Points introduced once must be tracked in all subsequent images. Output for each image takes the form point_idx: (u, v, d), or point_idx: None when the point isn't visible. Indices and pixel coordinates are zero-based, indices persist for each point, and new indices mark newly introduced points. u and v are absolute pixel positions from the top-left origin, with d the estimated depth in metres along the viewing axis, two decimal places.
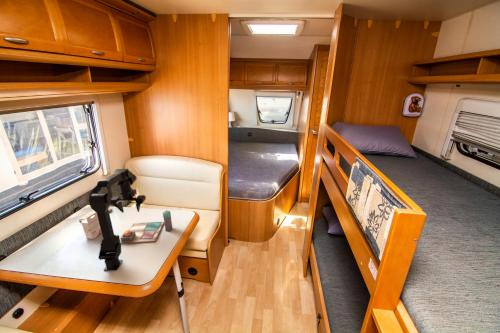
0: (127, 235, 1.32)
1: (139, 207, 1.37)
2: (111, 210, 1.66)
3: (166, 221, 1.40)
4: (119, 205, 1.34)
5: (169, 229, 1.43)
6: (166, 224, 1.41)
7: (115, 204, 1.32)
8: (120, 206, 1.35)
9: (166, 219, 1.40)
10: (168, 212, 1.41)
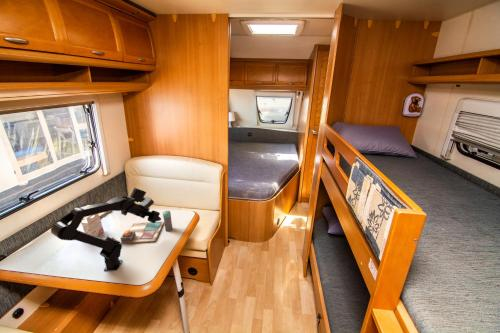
0: (127, 235, 1.32)
1: (158, 218, 1.29)
2: None
3: (166, 221, 1.40)
4: None
5: (169, 229, 1.43)
6: (166, 224, 1.41)
7: None
8: None
9: (166, 219, 1.40)
10: (168, 212, 1.41)
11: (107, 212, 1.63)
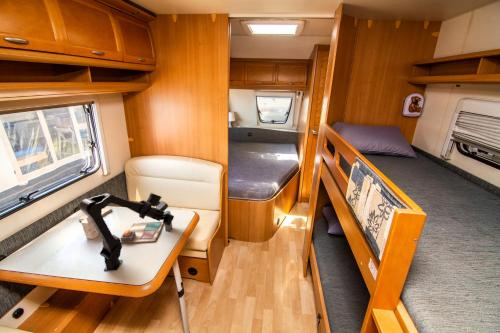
0: (127, 235, 1.32)
1: None
2: (111, 210, 1.66)
3: None
4: None
5: (169, 229, 1.43)
6: None
7: None
8: None
9: None
10: (168, 212, 1.41)
11: (107, 212, 1.63)
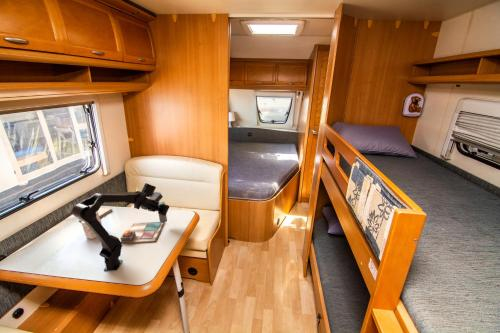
0: (127, 235, 1.32)
1: None
2: (111, 210, 1.66)
3: None
4: None
5: (164, 220, 1.42)
6: (161, 215, 1.40)
7: (149, 209, 1.38)
8: None
9: None
10: (163, 203, 1.40)
11: (107, 212, 1.63)
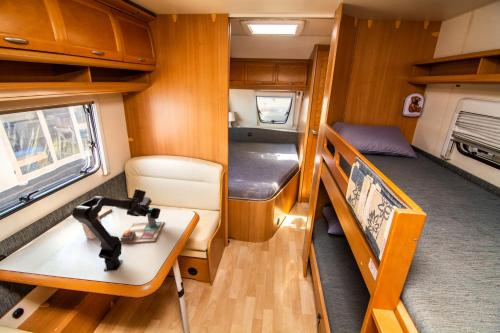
0: (127, 235, 1.32)
1: None
2: (111, 210, 1.66)
3: (151, 218, 1.42)
4: None
5: (154, 225, 1.45)
6: (151, 221, 1.43)
7: None
8: None
9: None
10: None
11: (107, 212, 1.63)
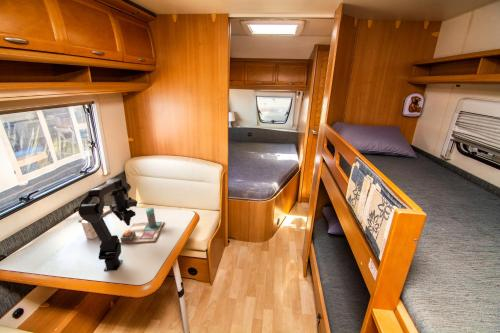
0: (127, 235, 1.32)
1: (128, 221, 1.27)
2: None
3: (150, 218, 1.42)
4: (117, 213, 1.31)
5: (154, 225, 1.45)
6: (150, 221, 1.43)
7: (113, 211, 1.30)
8: (118, 214, 1.31)
9: (150, 216, 1.42)
10: (152, 209, 1.43)
11: (107, 212, 1.63)
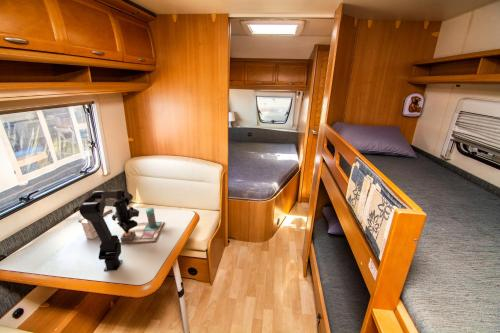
0: (127, 236, 1.33)
1: None
2: (111, 210, 1.66)
3: (150, 218, 1.42)
4: (122, 225, 1.31)
5: (154, 225, 1.45)
6: (150, 221, 1.43)
7: (119, 223, 1.30)
8: None
9: (150, 216, 1.42)
10: (152, 209, 1.43)
11: (106, 212, 1.63)
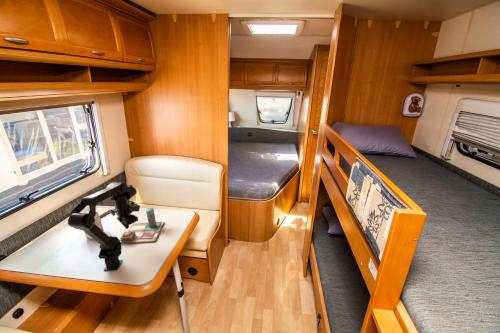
0: (127, 236, 1.33)
1: (127, 224, 1.25)
2: None
3: (150, 218, 1.42)
4: None
5: (154, 225, 1.45)
6: (150, 221, 1.43)
7: (118, 218, 1.23)
8: None
9: (150, 216, 1.42)
10: (152, 209, 1.43)
11: (106, 212, 1.62)
